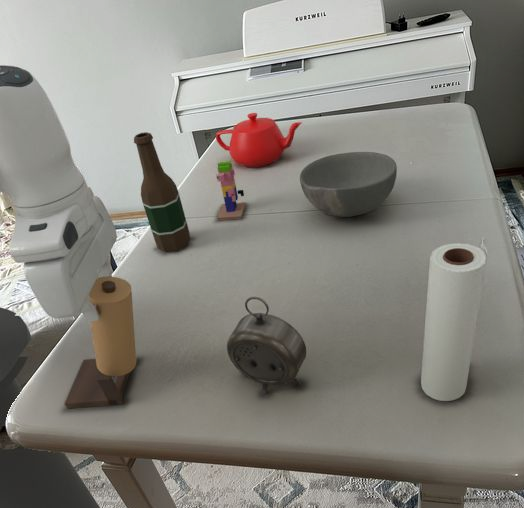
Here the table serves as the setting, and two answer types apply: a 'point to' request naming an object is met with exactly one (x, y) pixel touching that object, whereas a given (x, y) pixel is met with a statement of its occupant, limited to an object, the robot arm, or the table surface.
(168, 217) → the beer bottle
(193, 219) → the table surface
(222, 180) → the figurine
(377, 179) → the bowl
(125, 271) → the table surface
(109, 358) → the tan cylinder
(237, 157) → the teapot
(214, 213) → the table surface
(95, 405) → the stand
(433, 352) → the paper towel roll
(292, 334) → the alarm clock
